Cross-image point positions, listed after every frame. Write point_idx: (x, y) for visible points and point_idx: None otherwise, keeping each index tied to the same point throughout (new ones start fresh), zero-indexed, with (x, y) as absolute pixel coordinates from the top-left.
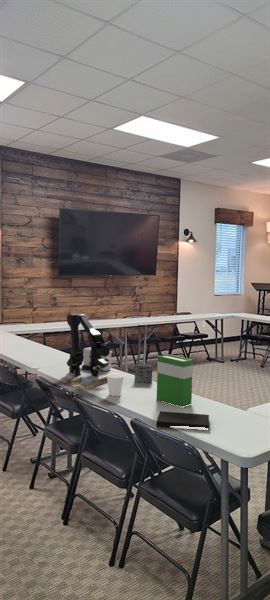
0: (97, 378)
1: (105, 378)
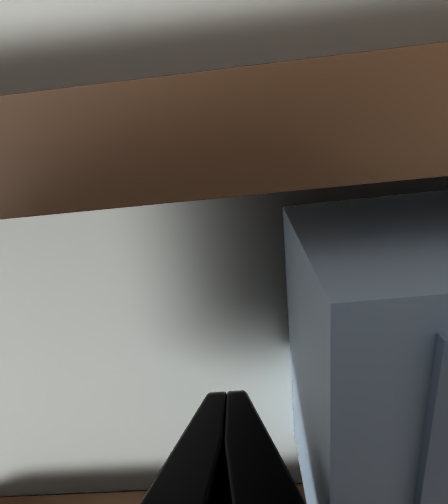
0: (380, 265)
1: (15, 95)
